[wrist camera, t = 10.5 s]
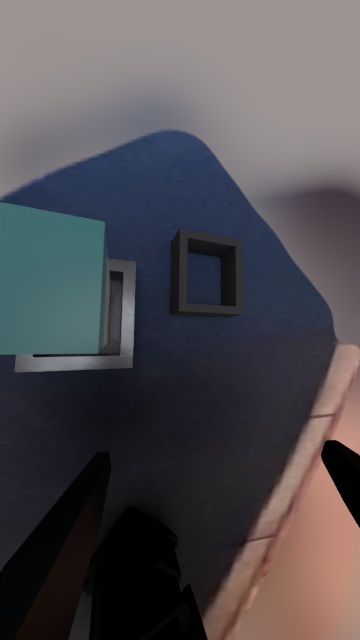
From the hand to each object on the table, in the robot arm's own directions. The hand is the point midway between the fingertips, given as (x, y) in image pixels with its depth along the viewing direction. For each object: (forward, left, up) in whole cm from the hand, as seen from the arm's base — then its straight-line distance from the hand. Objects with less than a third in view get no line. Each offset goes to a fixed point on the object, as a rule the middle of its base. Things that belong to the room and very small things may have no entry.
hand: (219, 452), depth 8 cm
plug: (+1, +9, -12) cm, 15 cm away
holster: (+12, +3, -13) cm, 18 cm away
